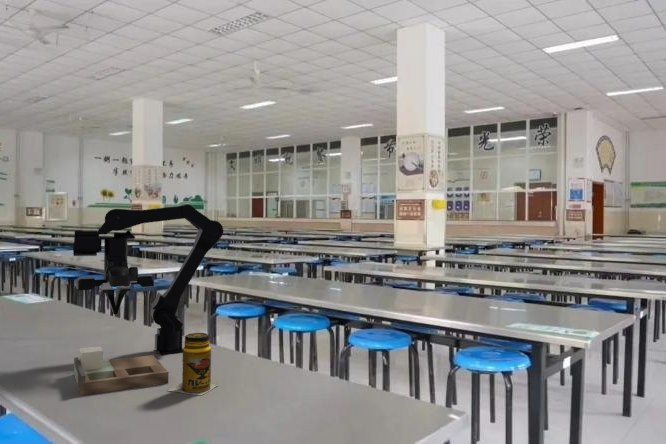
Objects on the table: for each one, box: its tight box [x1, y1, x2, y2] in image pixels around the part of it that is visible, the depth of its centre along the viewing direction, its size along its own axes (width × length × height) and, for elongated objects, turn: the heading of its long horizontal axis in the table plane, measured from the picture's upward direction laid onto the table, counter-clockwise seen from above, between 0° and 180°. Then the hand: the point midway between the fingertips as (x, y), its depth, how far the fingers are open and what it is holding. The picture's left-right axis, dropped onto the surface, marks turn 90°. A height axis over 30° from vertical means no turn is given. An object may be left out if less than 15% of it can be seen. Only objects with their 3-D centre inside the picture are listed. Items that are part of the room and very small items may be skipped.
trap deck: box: [73, 354, 169, 396], centre depth 125 cm, size 18×16×4 cm
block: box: [78, 346, 104, 370], centre depth 126 cm, size 4×4×4 cm
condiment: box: [167, 332, 218, 396], centre depth 120 cm, size 7×8×12 cm
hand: (115, 314), depth 145 cm, fingers closed
